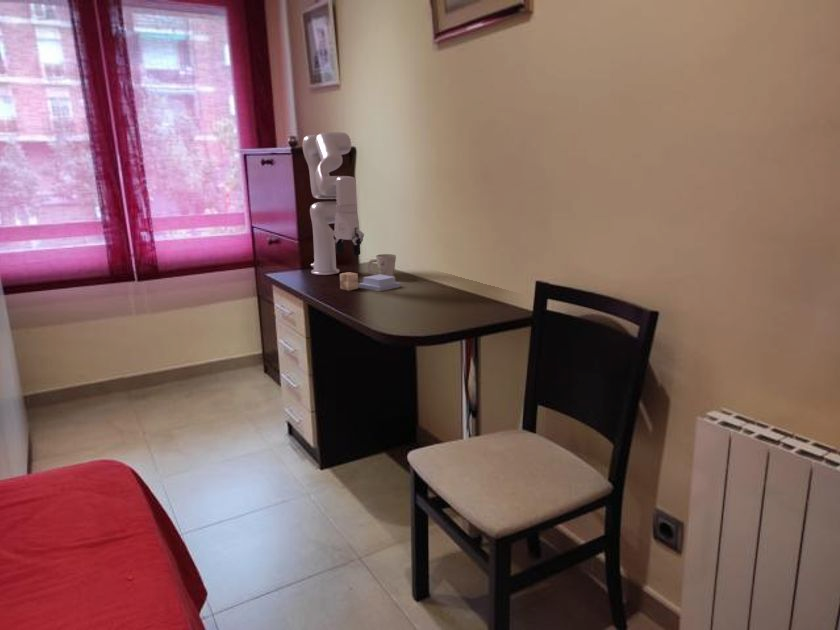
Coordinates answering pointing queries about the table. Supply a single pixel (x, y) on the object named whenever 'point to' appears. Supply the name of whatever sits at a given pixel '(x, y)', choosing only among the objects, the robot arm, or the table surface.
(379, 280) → the plinth
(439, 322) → the table surface
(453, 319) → the table surface
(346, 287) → the beech block
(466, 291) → the table surface
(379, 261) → the mug
